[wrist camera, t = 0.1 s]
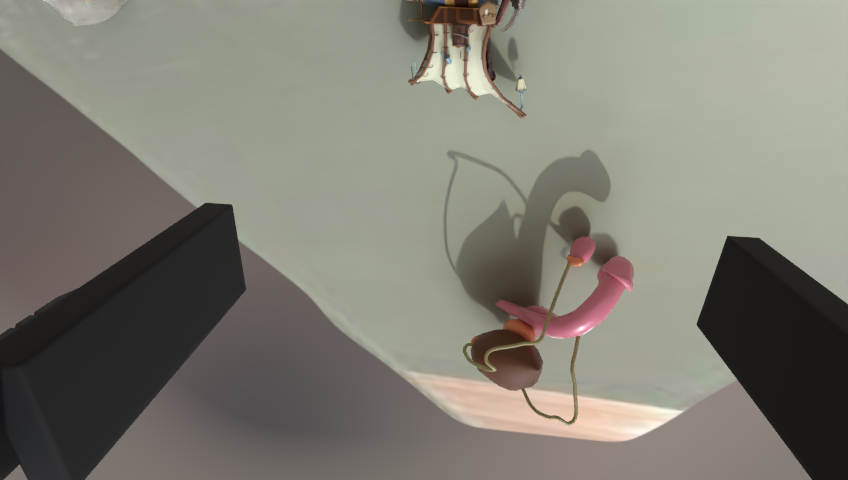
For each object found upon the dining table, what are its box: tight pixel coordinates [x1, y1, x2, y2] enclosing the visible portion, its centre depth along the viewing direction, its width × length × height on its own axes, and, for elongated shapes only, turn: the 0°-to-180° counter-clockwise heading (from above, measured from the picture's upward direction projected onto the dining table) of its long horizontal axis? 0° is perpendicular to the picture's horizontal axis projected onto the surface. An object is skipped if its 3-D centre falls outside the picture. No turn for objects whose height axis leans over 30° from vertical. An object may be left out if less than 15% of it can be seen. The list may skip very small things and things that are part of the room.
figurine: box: [406, 0, 527, 118], centre depth 32 cm, size 20×6×17 cm
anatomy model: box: [463, 236, 634, 425], centre depth 41 cm, size 10×14×15 cm
